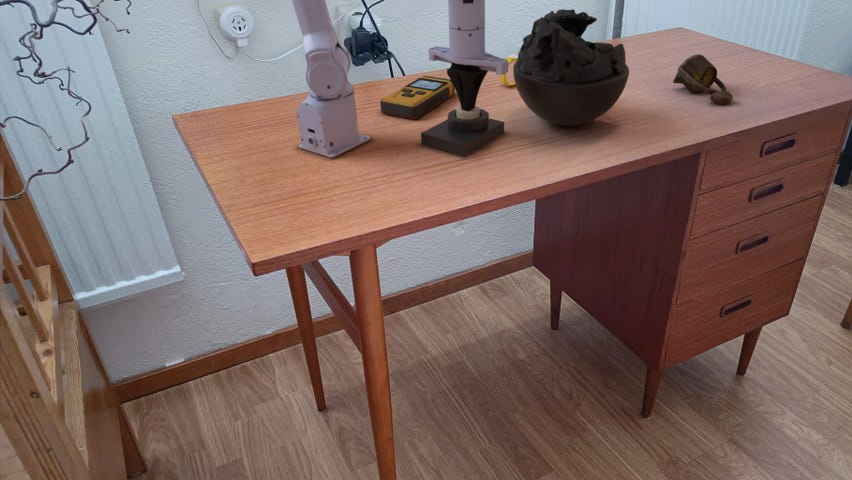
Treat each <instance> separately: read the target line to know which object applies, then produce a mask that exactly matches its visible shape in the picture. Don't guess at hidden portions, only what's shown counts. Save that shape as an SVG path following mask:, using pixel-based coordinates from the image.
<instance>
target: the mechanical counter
mask: <svg viewBox="0 0 852 480" xmlns="http://www.w3.org/2000/svg"><path fill="white" fill-rule="evenodd" d="M672 83H673V84H681V85H682V86H684V87H685V88H686V89H687V90H688V91H689V92H690V93H691V94H701V93H706V94H708V95H710V96H709V98H710V100H711V102H712V103H713V104H715V105H726V104H729V103H730V102H731V101H732V100H733V99H734V98H733V97H734V96H733V94H731V92H729V91H727V87H726V85H725V84H724V82H722V81H721V80H720V79H719V78H718V69H717V67H716V66H714V65H713V64H712V63H711V62H710V61H709V60H708V59H707V57H705V56H704V55H703V54H699V53H697V54H694V55H691V56H689V57H687V58H686V59H685V60H684V61H683V62H682V63H681V64H680V65H679V66H678V67H677V72H676V75H675V76H674V78H673V80H672ZM714 83H715V84H716V85H717V86H718V87H719V88H720V89H721V90H717V89H716V90H715V89H712V88H711V87H712V86H713V85H714Z"/></svg>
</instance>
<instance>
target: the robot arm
mask: <svg viewBox="0 0 852 480" xmlns="http://www.w3.org/2000/svg"><path fill="white" fill-rule="evenodd" d="M291 2H292V6H293V9H294V12H295V15H296V20H297V22H298V26H299V28H300V32H301V35H302V41H303V44H302V45H303V53H304V58H305V60H306V72H305V81H306V85H307V86H308V95H307V97H306V98H305V100H304V101H302V102H300V103H299V104H298V106H297V109H296V119H297V125H298V130H299V137H300V142H301V143H300V144H298V148H299V149H302V150H305V151H309V152H311V153H314V154H318V155H321V156H324V157H326V158H330V159H333V158H335V157H338V156H340V155H342V154H344V153H346V152H348V151H350V150H352V149H354V148H356V147H358V146H360V145H362V144H364V143H366V142H369V141H370V140H371V136H369V135H367V134H362V133H360V132H359V131H360V130H359V123H358V114H357V105H356V97H355V96H356V95H355V87H354V85H353V84H352V83H351V82H350V81H349V79H348V74H349V71H350V68H351V58H350V56H349V53H348V52H347V50H346V49H345V48H344V47H343V46H342V44H341V42H340V40H339V37H338V34H337V32H336V30H335V28H334V26H333V23H332V20H331V16H330V13H329V8H328V5H327V1H326V0H291ZM447 3H448V4H447V5H448V6H447V7H448V9H447V10H448V40H449V41H448V42H449V46H447V47H446V46H437V45H435V46H434V45H433V46H432V47H429V48H428V61H431V62H436V61H439V62H442V63H443V62H444V63H447V64H448V63H449V64H450V65H451V66H450V67H449V68H447V69H446V75H447V76H448V79H450V80H451V81H452V83H453V85H454V87H455V92H456V94H457V97H458V101H459V106H461V109H462V110H464V111H470V110H472V109H474V108H475V106H476V103H477V99H478V95H479V91H480V89H481V87H482V86H481V85H482V84H483V82H484V79H485V77H486V76H487V74H488V72H493V73H496V75H499V76H500V75H503V74H505V73H506V74H507V73H509V66H508V60H507V58H503V57H499V56H496V55H494V54H491V53H488V52H486V0H447Z"/></svg>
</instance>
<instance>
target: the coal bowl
mask: <svg viewBox="0 0 852 480" xmlns="http://www.w3.org/2000/svg"><path fill="white" fill-rule="evenodd" d="M597 21H598V18H597V17H594V16H592V15H589V14H588V13H587V12H585V11H582V12H581V11H580V12H579V13H576V10H575V9H574V8H572V9H563V8H561V9H557V11H556V12H554V10H551V11H550V12H548V13H545V14H544V16H541V17H540V18H537V19H536V20H535V21H533V25H532V28H531V33H529V34H527V35H525V36H524V37H523V39H522V42H523V43H522V45H521V46H520V48H519V51H518V54H517V55H518V60H517V61H514V64H513V67H512V73H513V79H514V82H515V84H516V85H515V87H516V90H517V93H518V94H519V96H520V98H521V100H522V101H523V103H524V104H525V105H526V107H527V108H528V109H529V110H530V111H531V112H532V113H533V114H534V115H536V116H537V117H539V118H540V119H542V120H544V121H546V122H548V123H551V124H554V125H559V126H567V127H568V126H569V127H571V126H573V127H574V126H579V125H580V126H581V125H584V124H588V123H590V122H593V121H594V120H597V119H599V118H600V117H602V116H603V115H605V114H606V113H607V112H608V111H610V110H611V109H612V107H614V105H616V103H617V101H619V99H620V97H621V96H622V94H623V92H624V91H625V87H626V85H627V83H628V80H629V75H630V67H629V66H628V65H627V64H626V62H627V59H626V50H625V47H624V44H623V43H618V44H617V45H615V46H614V45H613V44H612V43H609V42H592V41H588V40H585V39H584V38H583V37H582V36H583V34H584V33H585V32H586V30H587V29H588V27H589V26H591V25H593V24H594V23H595V22H597Z"/></svg>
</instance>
